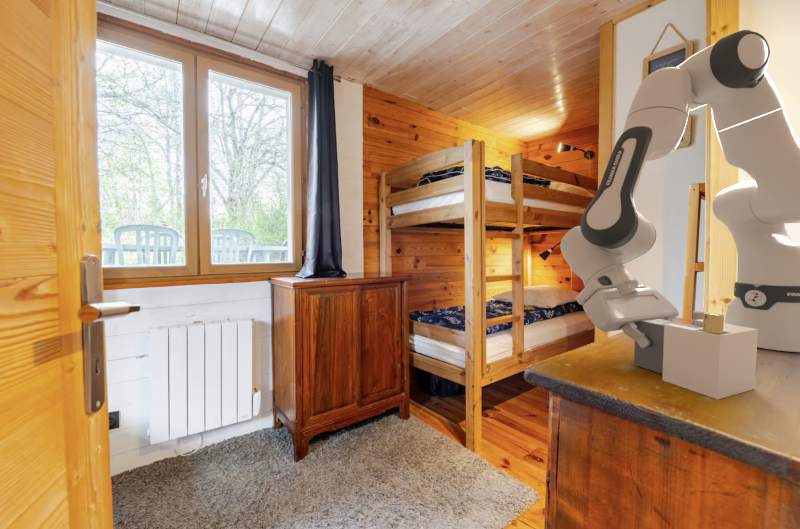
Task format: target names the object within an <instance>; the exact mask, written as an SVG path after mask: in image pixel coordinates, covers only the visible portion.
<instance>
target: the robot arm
mask: <svg viewBox="0 0 800 529" xmlns="http://www.w3.org/2000/svg"><path fill="white" fill-rule="evenodd" d="M770 54H771V51H770V45H769V43H768V41H767V39H766V38H765V36H763V35H762V34H760V33H758V32H756V31H753V30H750V29H743V30H740V31H739V30H738V31H736V32H733V33H731V34H729V35H726V36H724V37H722V38H720V39H718V40H717V41H716V42H715V43H713V44H711V45H709V46H707V47H706V48H703V49H702V50H700V51H698V52H696V53H694V54H692V55H691V56H689V57H688V58H687V59H686V60H684V61H683V62H682V63H680V64H679V65H677V66H676V67H675V66H671V67H664V68H660V69H656V70H655V71H652V72H651V73H650V74H648V75H647V76H646V77H645V78H643V80H642V81H641V83H640V85H639V87H638V89H637V91H636V93H635V95H634V98H633V99H632V102H631V105H630V108H629V110H628V114H627V117H626V120H625V123H624V127H623V130H622V133H621V135H620V136H619V138H618V139H617V141H616V143H615V145H614V147H613V149H612V151H611V155H610V157H609V159H608V162H607V165H606V168H605V171H604V174H603V176H602V178H601V181H600V184H599V187H598V189H597V191H596V193H595V195H594V197H593V198H592V199H591V201H590V202H589V203H588V205H587V206H586V208H585V209H584V211H583V213H582V215H581V218H580V223H579V225H577V226H574V227H572V228H571V229H570V230H568V231H567V232H566V233H565V234H564V236H563V237H562V238H561V241H560V244H559V249H560V251H561V254H562V256H563V259H564V260H565V261H566V263H567V265H568V266H569V267H570V269H571V270H572V272H573V273H574V275H576V276H577V277H579V278H580V279H581V280H582V283H583V287H584V288H583V289H582V290H581V291H580V292H579V293H578V294H577V295H576V297H575V300H576V302H577V303H578V304H579V305H581V306H582V308H583V310H584V313H585V314H586V316H587V317H588V319H589V321H590V322H591V323H592V324H593V325H594V326H595V327H596V328H597V330H600V331H601V332H603V333H609V332H615V331H622V332H623V333H624V334H625V335H626V336H627V337H629V338H631V339H632V340H633V341H634V342H635V341H636V342H637V343H638V344H639V345H640V347H641V348H647V347H650V346H651V345H653V341H652V340H651V339H650V337H649V336H648V335H644V334H643V333H641V332H640V331H639V330H638V329H636V328H637V326H636V325H635V322H639V321H640V320H648V319H655V318H658V319H663V320H669V321H673V320H674V319H676V318H677V317H679V315H680V313H679V311H678V309H677V308H676V306H674V304H672V303H671V301H669V300H668V299H667V298H666V297H665V296H664V295H663V294H662V293H660V292H659V290H656V289H655V288H653V287H647V286H645V285H644V284H639V281H638V280H637V279H636V277H635V276H634V275H633V274H632V273H631V272H630V271H629V269H627V268H626V266H625V265H624V264H626V263H629V262H631V261H633V260H635V259H637V258H639V257H641V256H643V255H645V254H646V253H648V252H649V251H650V250H651V249H652V248H653V246H654V245H655V243H656V239H657V232H656V230H657V229H656V228H655V227H654V225H653V224H652V222H650V221H649V220H648V219H647V218H646V217H645V216H643V215H642V214H641V212H640V211H639V210H638V209H637V207H636V204H635V192H636V189H637V187H638V185H639V184H638V183H639V181H640V179H641V175H642V173H643V171H644V170H643V169H644V166H645V164H646V163H647V162H648V161H656V160H659V159H662V158H664V157H667V156H669V155H670V154H671V153H673V152H674V151H675V150H676V149H677V148H678V146H679V144H680V142H681V140H682V138H683V135H684V133H685V130H686V126H687V124H688V119H689V115H690V111H691V112H692V111H694V110H696V109H699V108H700V109H701V107H702V108H703V107H704V106H706V105H707V106H708V107H709V108H710V109H711V115H712V121H713V125H714V129H715V133H716V135H717V138H718V142H719V144H720V147H721V150H722V154H723V156H724V159H725V161H726V162H727V163H728V164H729V165H730V166H733V167H736V168H738V169H741V170H742V171H744V172H746V173H747V174H748V175H749V176H750V177H751V180H747V181H741V182H739V183H736V184H734V185H731V186H729V187H726V188H724V189H722V190H721V191H719V192H718V193H717V194H716V195H715V197H714V199H713V202H712V212H713V215H714V216H715V217H716V218H717V220H719V221H720V222H721V223H723V224H724V225H725V227H727V229H728V230H729V232H730V234H731V236H732V238H733V241H734V244H735V247H736V253H737V269H736V270H737V272H736V273H737V274H736V277H737V279H736V281H735V282H734V285H733V288H732V289H733V296H734V297H735V298H734V299H733V300H731V301H730V302H728V303H727V305H726V310H725V315H724V323H725V324H731V325H736V326H742V327H748V328H754V329H758V337H757V348H760V349H766V350H771V351H772V350H773V351H783V352H792V353H800V243H797V242H796V241H794V240H793V239H792V238H791V237H790V235H789V233H788V232H787V230H786V226H785V224H797V223H799V224H800V143H799V141H798V140H797V138H796V135H795V133H794V131H793V128H792V126H791V123H790V119H789V117H788V115H787V112H786V108H785V107H784V106H785V105H784V103H783V100H782V97H781V95H780V93H779V91H778V89H777V87H776V85H775V83H774V82H773V80H772V78H771V77H770V76H769V74H768V72H766V70H767V68H768V66H769V62H770V56H771V55H770Z"/></svg>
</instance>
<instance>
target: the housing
mask: <svg viewBox="0 0 800 529" xmlns="http://www.w3.org/2000/svg"><path fill="white" fill-rule="evenodd" d="M694 325H695V326H700V327H703V320H702V319H699V320H694ZM757 337H758V329H754V328H748V327H742V326H736V325H731V324H725V323H724V324H723V334H721V335H717V334H712V333H707V332H703V328H698V329H696V328H691V327H686V326H681V325H676V324H664V347H663V374H662V381H663V382H667V383H670V384H672V385H675V386H677V387H680V388H684V389H686V388H687V390H690V391H693V392H695V393H698V394H701V395H705V396H706V397H710V398H713V399H715V400H720V399H724V398H728V397H733V396H735V395H739V394H742V393H745V392H749V390H750V391H752V389H753V390H755V388H756V376H757V374H756V373H757V372H756V371H757V356H758V355H757V354H758V347H757Z"/></svg>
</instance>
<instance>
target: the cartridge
mask: <svg viewBox="0 0 800 529" xmlns="http://www.w3.org/2000/svg"><path fill="white" fill-rule="evenodd" d="M664 324H676V325H681V326H686V327H691V328H696V329H698V328H703V327H700V326H695V325H692V324H689V323H684V322H678V321H673V320H672V321H669V320H663V319H658V318H655V319H648V320H640V321H639V322H635V325H636V326H637V328H636V329H638V330H639V331H640V332H641V333H643V334H644V335H648V336H649V337H650V339H651V340H652V341H653V345H651V346H650V347H647V348H641V347H640V345H639V344H638V343H637V342H636V341H635V340H634V349H633V350H634V356H633V357H634V358H633V365H634V366H637V367H641V368H643V369H647V370H649V371H653V372H654V373H658V374H661V375H663V347H664Z"/></svg>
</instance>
